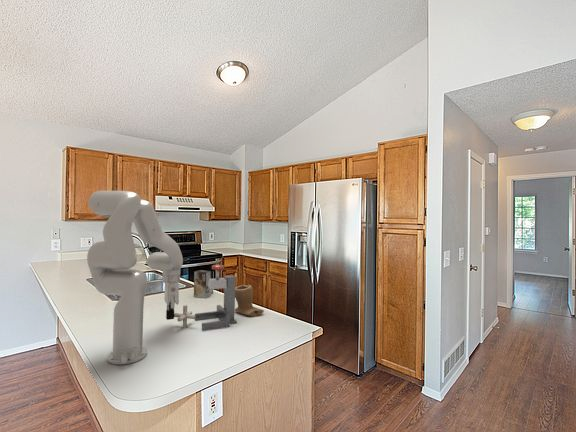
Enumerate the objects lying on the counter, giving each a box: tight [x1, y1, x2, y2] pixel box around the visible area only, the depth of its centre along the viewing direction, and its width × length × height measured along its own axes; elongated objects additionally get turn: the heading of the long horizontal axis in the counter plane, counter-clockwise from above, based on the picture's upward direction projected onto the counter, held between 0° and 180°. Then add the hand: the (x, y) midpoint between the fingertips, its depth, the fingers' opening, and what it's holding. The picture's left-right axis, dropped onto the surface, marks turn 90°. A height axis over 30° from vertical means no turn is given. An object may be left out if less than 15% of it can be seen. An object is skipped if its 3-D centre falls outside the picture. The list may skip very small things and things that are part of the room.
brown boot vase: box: [235, 284, 265, 317], centre depth 164 cm, size 15×12×15 cm
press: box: [194, 274, 238, 332], centre depth 149 cm, size 16×17×22 cm
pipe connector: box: [174, 304, 196, 329], centre depth 142 cm, size 10×10×10 cm
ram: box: [208, 264, 226, 295], centre depth 149 cm, size 6×7×13 cm
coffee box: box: [193, 269, 212, 299], centre depth 196 cm, size 9×6×16 cm
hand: (170, 318), depth 139 cm, fingers closed
